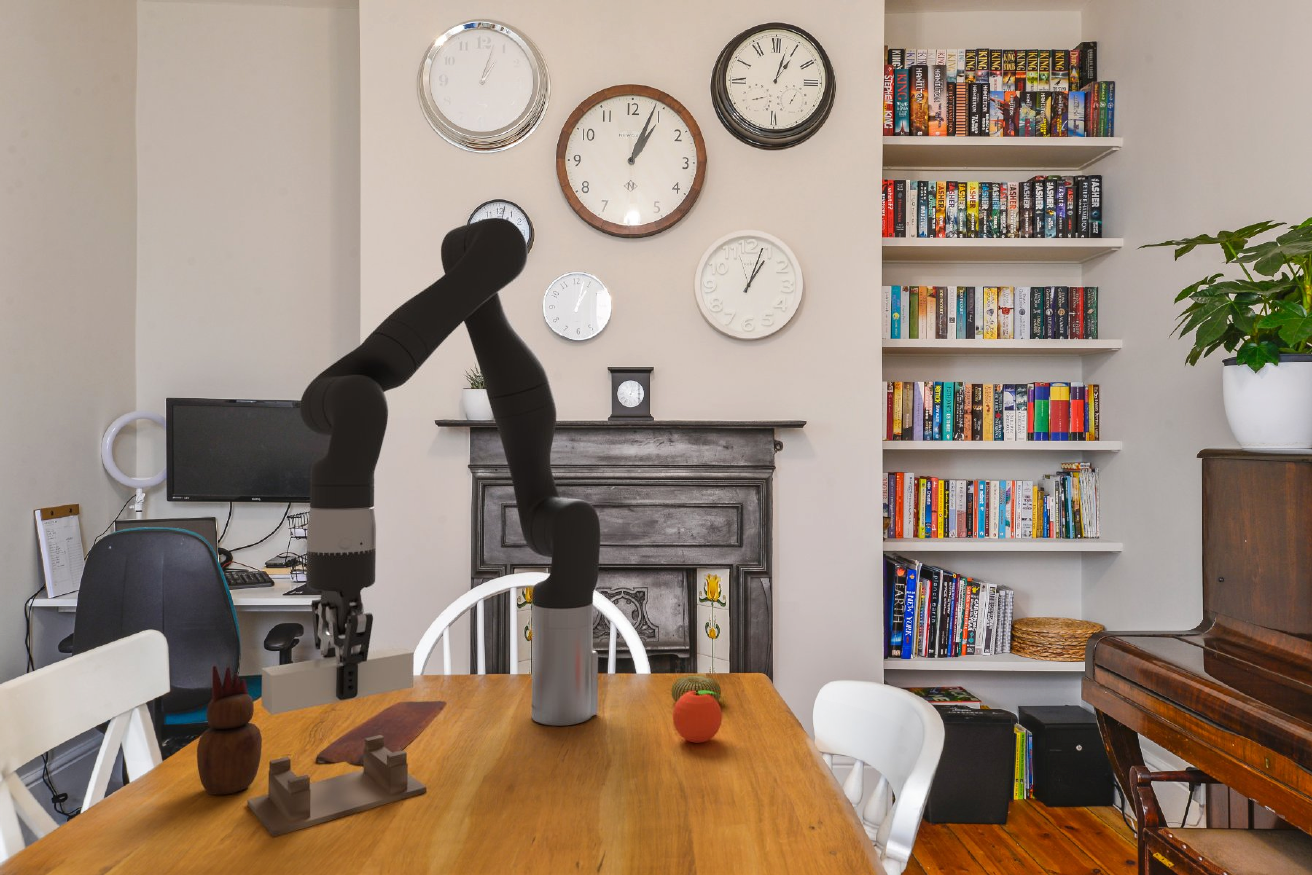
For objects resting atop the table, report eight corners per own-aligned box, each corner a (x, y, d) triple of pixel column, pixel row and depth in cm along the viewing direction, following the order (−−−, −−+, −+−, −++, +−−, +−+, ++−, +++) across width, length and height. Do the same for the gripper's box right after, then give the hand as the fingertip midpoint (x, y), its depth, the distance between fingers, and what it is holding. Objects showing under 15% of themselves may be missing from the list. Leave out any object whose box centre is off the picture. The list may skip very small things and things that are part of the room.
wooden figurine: (195, 804, 91) (197, 672, 91) (197, 785, 96) (199, 660, 96) (261, 792, 94) (263, 665, 94) (260, 775, 99) (262, 654, 99)
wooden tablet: (384, 772, 102) (384, 759, 102) (309, 768, 103) (310, 755, 103) (456, 705, 128) (456, 695, 128) (396, 703, 129) (396, 692, 129)
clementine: (714, 729, 116) (714, 680, 116) (737, 744, 110) (737, 693, 110) (664, 736, 113) (664, 686, 113) (685, 753, 107) (685, 699, 107)
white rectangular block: (399, 679, 99) (400, 646, 99) (413, 687, 96) (413, 652, 96) (261, 705, 89) (262, 668, 89) (271, 714, 86) (272, 675, 86)
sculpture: (726, 675, 130) (713, 688, 123) (726, 699, 130) (713, 714, 123) (680, 670, 133) (664, 683, 126) (680, 694, 133) (664, 708, 125)
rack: (392, 766, 102) (392, 728, 102) (426, 791, 94) (426, 751, 94) (247, 804, 91) (247, 762, 91) (272, 836, 83) (273, 790, 83)
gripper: (397, 549, 90) (395, 701, 90) (351, 538, 101) (349, 674, 100) (329, 554, 85) (327, 715, 85) (289, 542, 96) (286, 685, 95)
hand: (339, 692), depth 93 cm, fingers closed on white rectangular block, 4 cm apart
